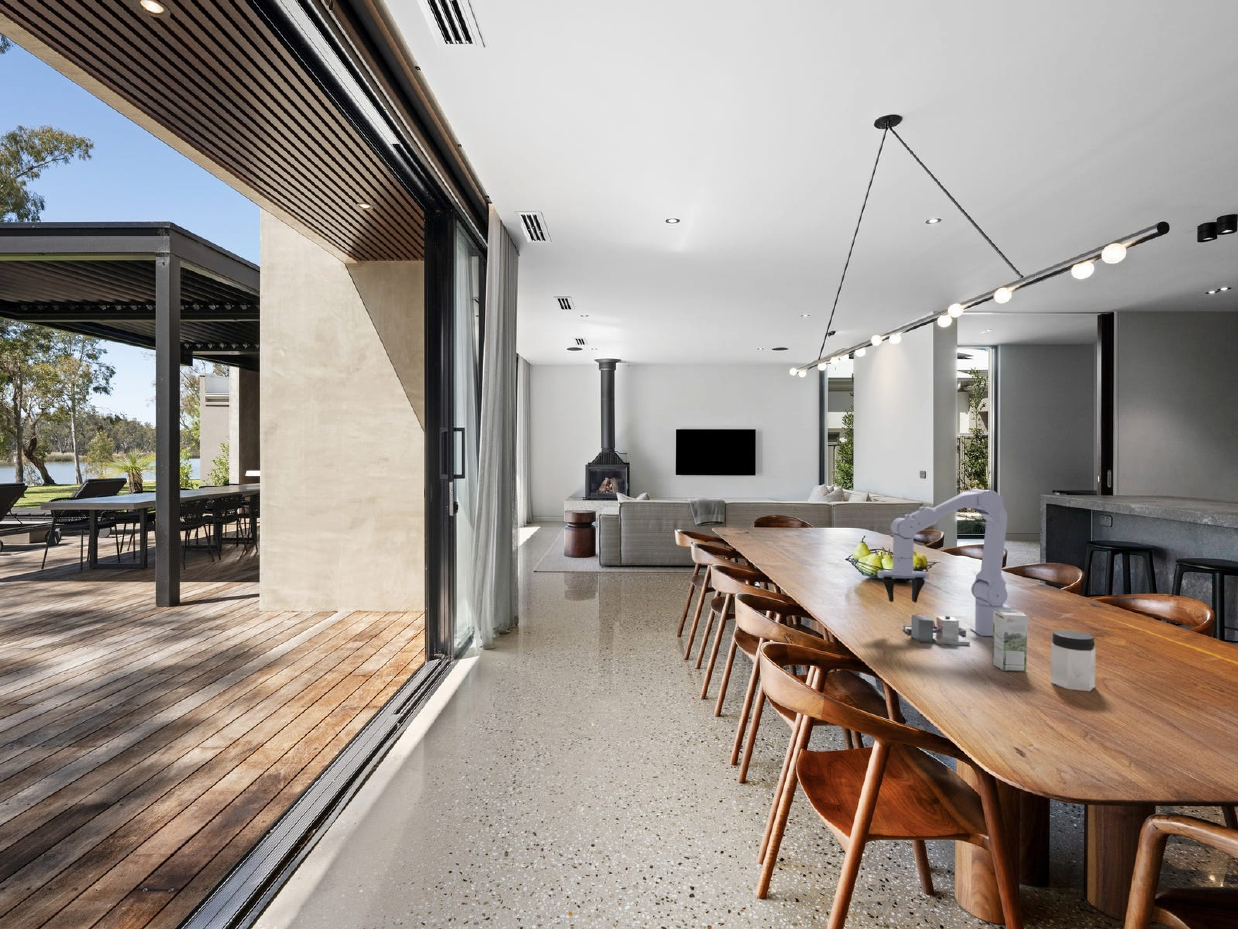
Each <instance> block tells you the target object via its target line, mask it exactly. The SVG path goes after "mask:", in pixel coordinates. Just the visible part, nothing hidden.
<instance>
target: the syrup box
mask: <svg viewBox="0 0 1238 929" xmlns="http://www.w3.org/2000/svg"><path fill="white" fill-rule="evenodd" d="M1028 619H1029V616H1027V614H1025V613H1023V611H1020V610H1016V609H1015V610H1014V609H1011V610H994V612H993V636H992V658H991V659H992V660H991V661H992V664H994V665H993V666H995V668H996V667H997V668H998V667H999V668H1000V669H999V668H998V669H999V670H1001V671H1003V672H1020V673H1021V672H1025V673H1026V672H1027V659H1028V658H1027V657H1028V656H1027V654H1028V653H1027V652H1028Z"/></svg>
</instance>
